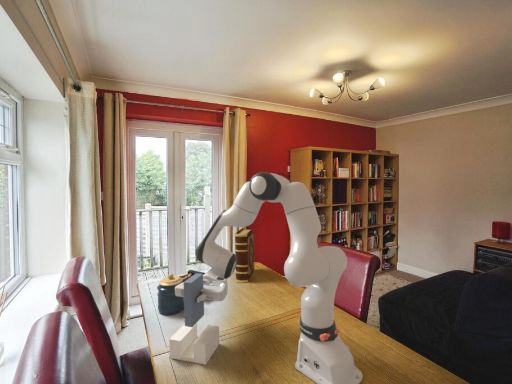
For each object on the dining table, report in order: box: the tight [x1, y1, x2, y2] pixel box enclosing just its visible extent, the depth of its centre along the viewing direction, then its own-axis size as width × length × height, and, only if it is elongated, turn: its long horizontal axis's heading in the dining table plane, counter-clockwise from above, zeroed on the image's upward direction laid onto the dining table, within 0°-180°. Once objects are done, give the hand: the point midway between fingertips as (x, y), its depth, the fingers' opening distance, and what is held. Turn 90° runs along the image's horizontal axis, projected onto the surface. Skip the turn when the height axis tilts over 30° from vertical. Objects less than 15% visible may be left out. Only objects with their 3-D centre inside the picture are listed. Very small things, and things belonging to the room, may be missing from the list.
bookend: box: [178, 269, 206, 282], centre depth 151 cm, size 15×11×25 cm
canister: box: [156, 273, 184, 316], centre depth 133 cm, size 13×13×18 cm
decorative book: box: [233, 227, 255, 284], centre depth 175 cm, size 22×8×30 cm, turn 168°
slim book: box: [183, 273, 205, 327], centre depth 100 cm, size 3×9×16 cm, turn 164°
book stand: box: [169, 322, 221, 366], centre depth 100 cm, size 14×12×7 cm
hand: (190, 299), depth 97 cm, fingers closed on slim book, 3 cm apart
